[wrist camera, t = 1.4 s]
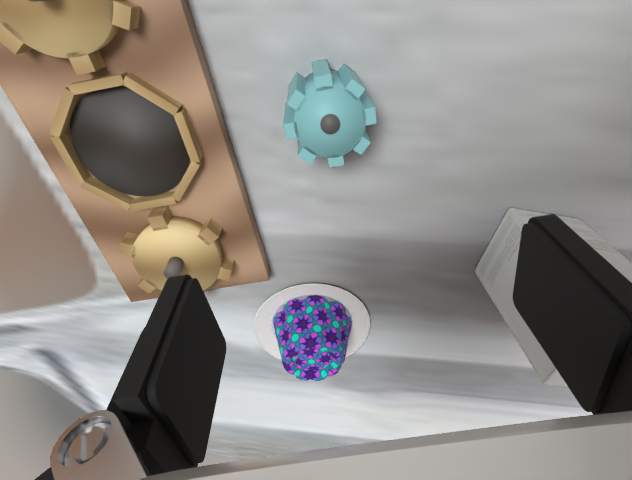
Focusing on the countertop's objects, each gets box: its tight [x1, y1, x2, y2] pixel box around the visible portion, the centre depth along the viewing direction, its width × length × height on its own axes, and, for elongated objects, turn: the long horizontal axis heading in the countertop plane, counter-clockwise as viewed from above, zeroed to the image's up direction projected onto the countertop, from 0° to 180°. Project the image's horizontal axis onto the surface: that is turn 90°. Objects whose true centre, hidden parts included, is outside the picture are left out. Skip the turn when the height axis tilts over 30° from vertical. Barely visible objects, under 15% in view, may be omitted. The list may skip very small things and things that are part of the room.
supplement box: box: [475, 208, 632, 387], centre depth 30 cm, size 7×7×13 cm
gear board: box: [0, 0, 270, 302], centre depth 27 cm, size 28×13×4 cm, turn 10°
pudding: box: [254, 284, 370, 381], centre depth 38 cm, size 12×12×5 cm
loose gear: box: [283, 59, 377, 168], centre depth 26 cm, size 6×6×5 cm
